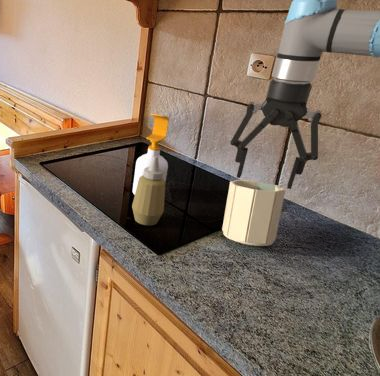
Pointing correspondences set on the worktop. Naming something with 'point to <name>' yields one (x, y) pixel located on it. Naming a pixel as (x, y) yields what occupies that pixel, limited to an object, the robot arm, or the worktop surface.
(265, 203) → the bin
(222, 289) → the worktop surface
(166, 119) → the soap bottle
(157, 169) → the squeeze bottle
